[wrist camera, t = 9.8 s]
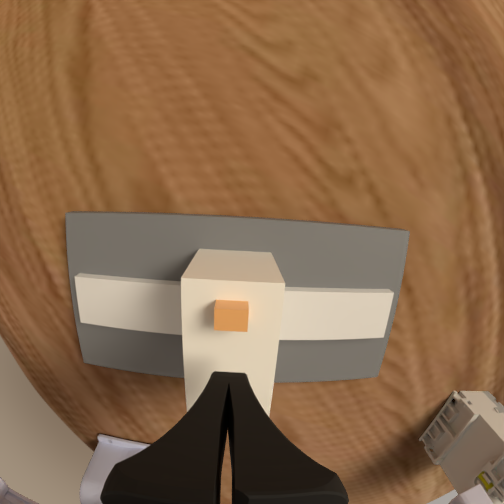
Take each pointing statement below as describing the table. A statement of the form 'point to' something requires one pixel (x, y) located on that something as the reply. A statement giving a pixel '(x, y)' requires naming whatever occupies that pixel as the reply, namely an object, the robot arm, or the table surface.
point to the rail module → (231, 319)
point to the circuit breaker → (469, 442)
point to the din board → (237, 239)
